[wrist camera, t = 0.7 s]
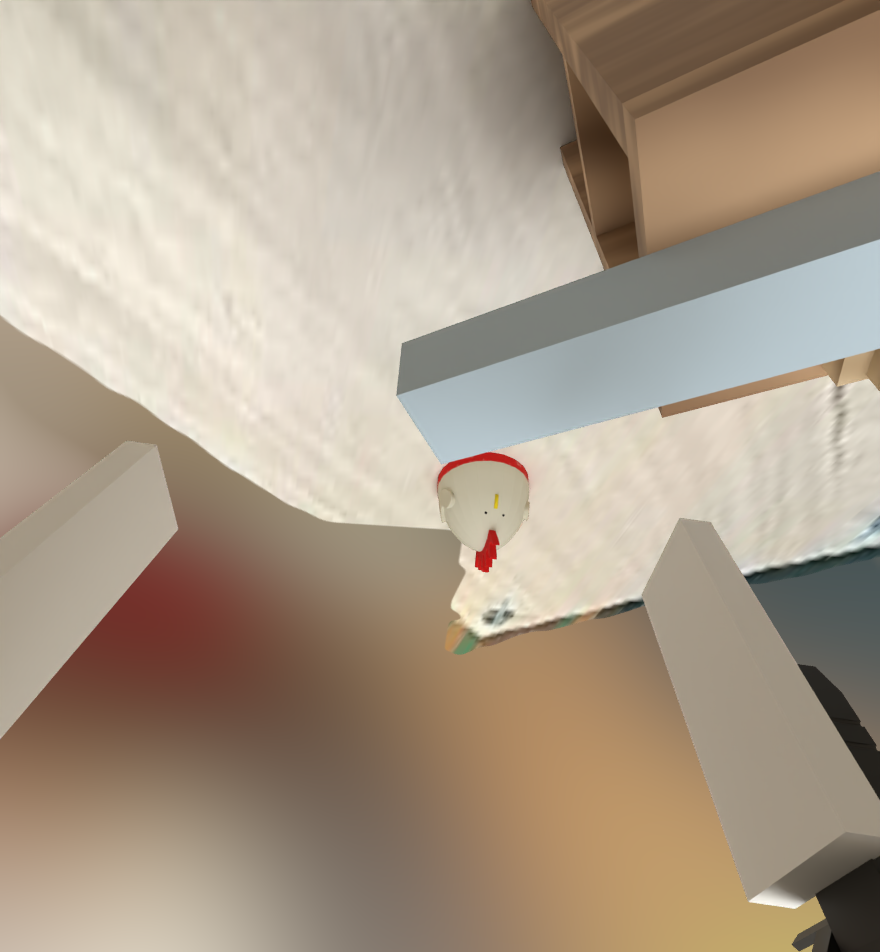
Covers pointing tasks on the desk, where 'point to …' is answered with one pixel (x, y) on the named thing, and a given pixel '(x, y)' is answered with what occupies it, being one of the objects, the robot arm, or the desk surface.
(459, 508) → the kitchen timer
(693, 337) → the batten
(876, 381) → the rack
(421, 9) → the desk surface
